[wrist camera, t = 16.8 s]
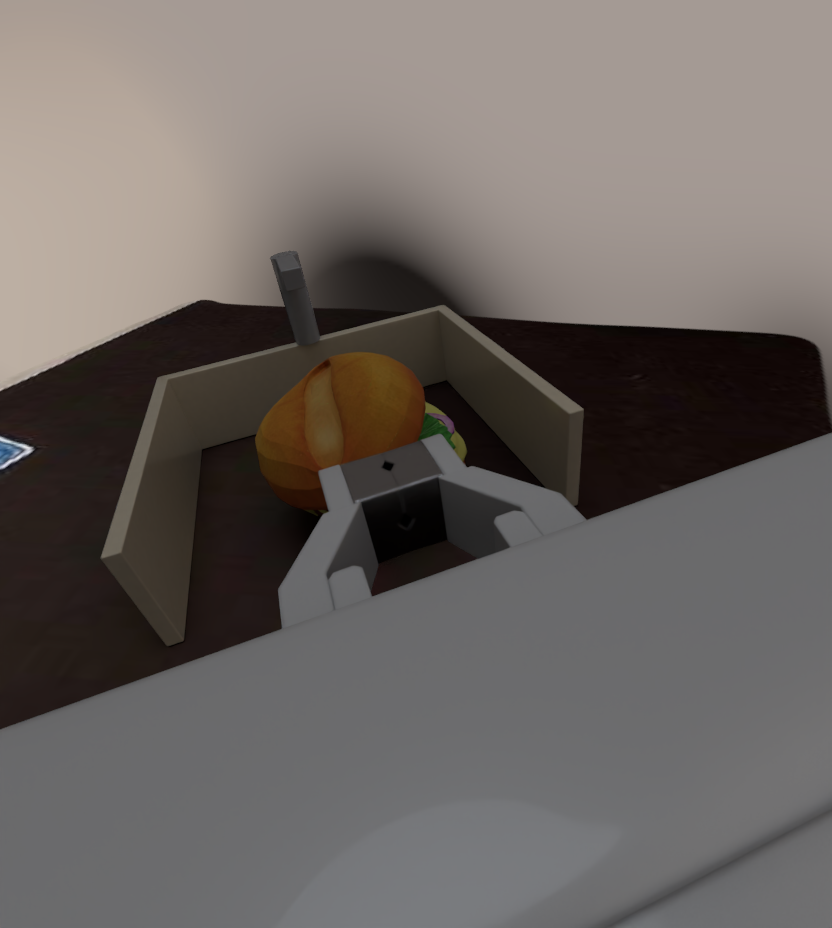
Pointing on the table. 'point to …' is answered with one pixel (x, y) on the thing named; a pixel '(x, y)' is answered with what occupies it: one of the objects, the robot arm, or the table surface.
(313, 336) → the grey u-shaped wall
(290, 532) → the table surface
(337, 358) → the cheeseburger
